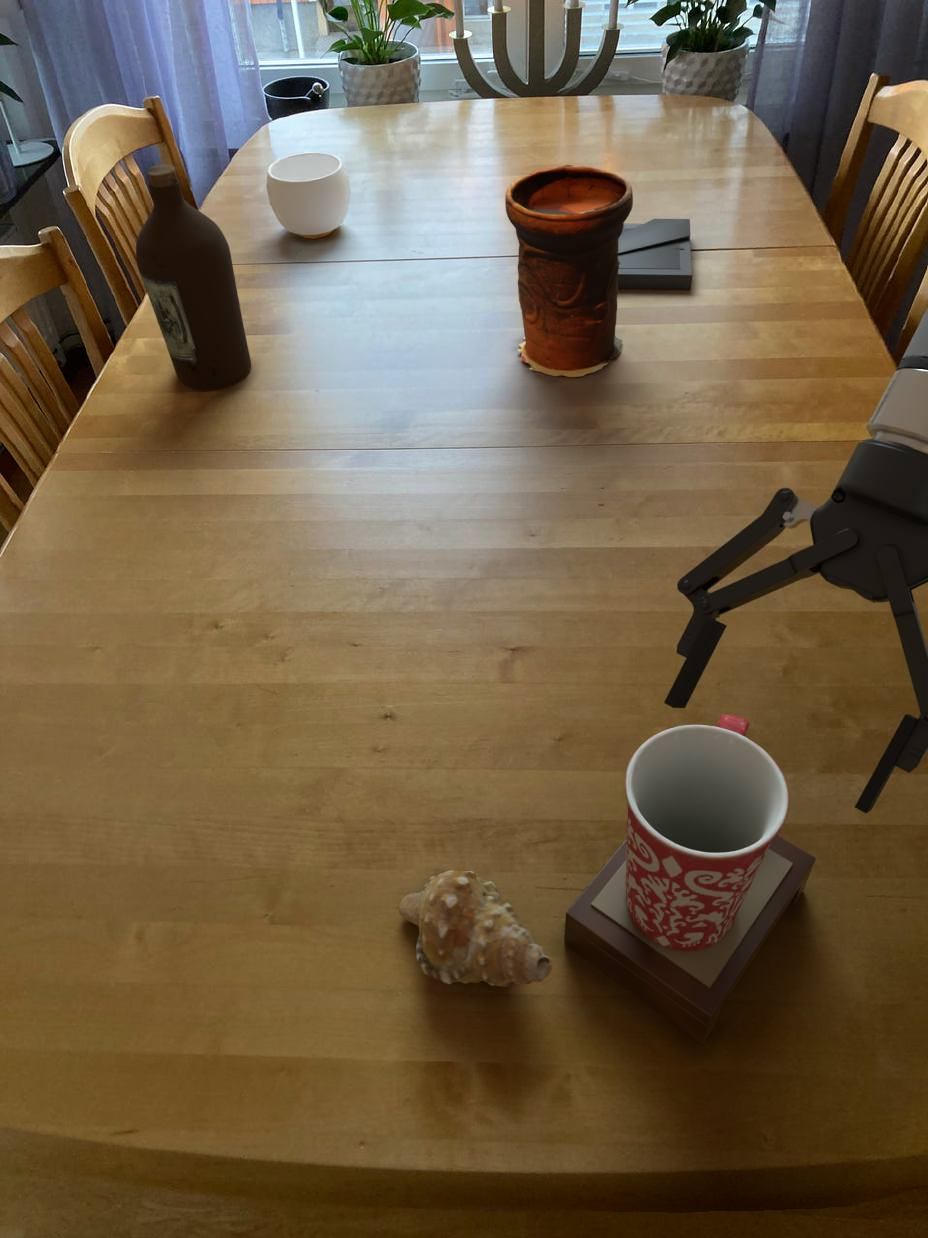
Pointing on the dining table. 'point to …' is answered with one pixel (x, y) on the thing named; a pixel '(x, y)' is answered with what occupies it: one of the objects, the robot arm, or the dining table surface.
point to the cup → (309, 193)
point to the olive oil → (191, 288)
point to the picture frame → (655, 255)
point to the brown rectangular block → (672, 977)
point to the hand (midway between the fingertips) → (763, 755)
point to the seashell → (471, 933)
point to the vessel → (568, 265)
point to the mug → (698, 829)
